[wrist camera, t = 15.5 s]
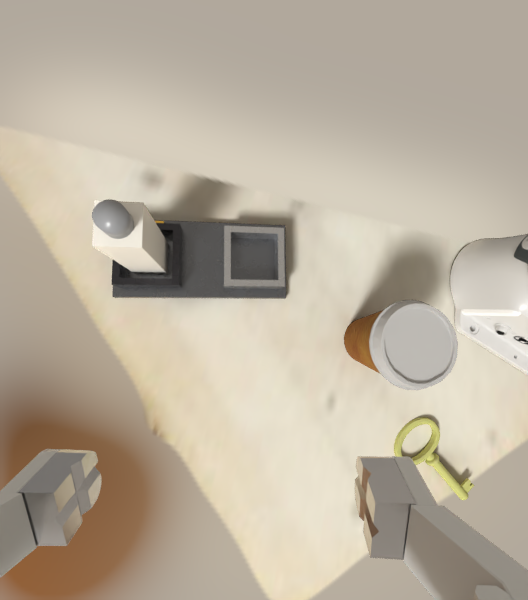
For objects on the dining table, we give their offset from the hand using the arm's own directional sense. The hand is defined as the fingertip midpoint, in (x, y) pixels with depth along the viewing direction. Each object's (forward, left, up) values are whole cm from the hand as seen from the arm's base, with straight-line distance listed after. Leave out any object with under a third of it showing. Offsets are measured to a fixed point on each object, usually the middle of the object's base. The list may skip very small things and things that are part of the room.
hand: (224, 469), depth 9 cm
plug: (+16, -4, -30) cm, 34 cm away
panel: (+11, -8, -31) cm, 34 cm away
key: (-31, -9, -32) cm, 45 cm away
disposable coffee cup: (-13, -15, -31) cm, 37 cm away
